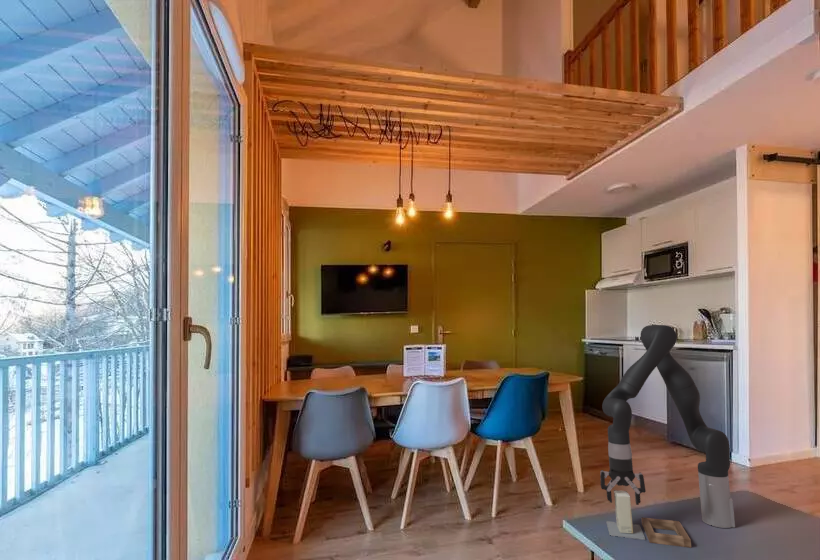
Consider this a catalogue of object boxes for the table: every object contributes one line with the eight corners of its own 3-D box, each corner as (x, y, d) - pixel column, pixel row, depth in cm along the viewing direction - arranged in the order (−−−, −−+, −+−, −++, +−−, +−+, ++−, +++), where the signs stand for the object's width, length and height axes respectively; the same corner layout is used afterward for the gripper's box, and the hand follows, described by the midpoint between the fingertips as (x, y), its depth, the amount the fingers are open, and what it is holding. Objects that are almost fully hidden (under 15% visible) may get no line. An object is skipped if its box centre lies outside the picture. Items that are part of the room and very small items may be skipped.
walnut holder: (679, 528, 155) (679, 521, 155) (691, 547, 142) (690, 539, 142) (641, 524, 159) (641, 517, 159) (649, 542, 146) (649, 534, 146)
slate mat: (639, 526, 158) (639, 524, 158) (645, 540, 147) (645, 538, 147) (606, 522, 161) (606, 521, 161) (609, 535, 151) (609, 534, 151)
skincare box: (633, 534, 151) (631, 497, 152) (619, 533, 152) (617, 496, 153) (629, 526, 157) (626, 490, 158) (615, 525, 158) (613, 489, 159)
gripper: (640, 453, 158) (644, 500, 157) (597, 451, 163) (600, 497, 161) (644, 459, 151) (648, 509, 150) (599, 457, 156) (602, 505, 154)
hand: (623, 502), depth 155 cm, fingers open, 8 cm apart
